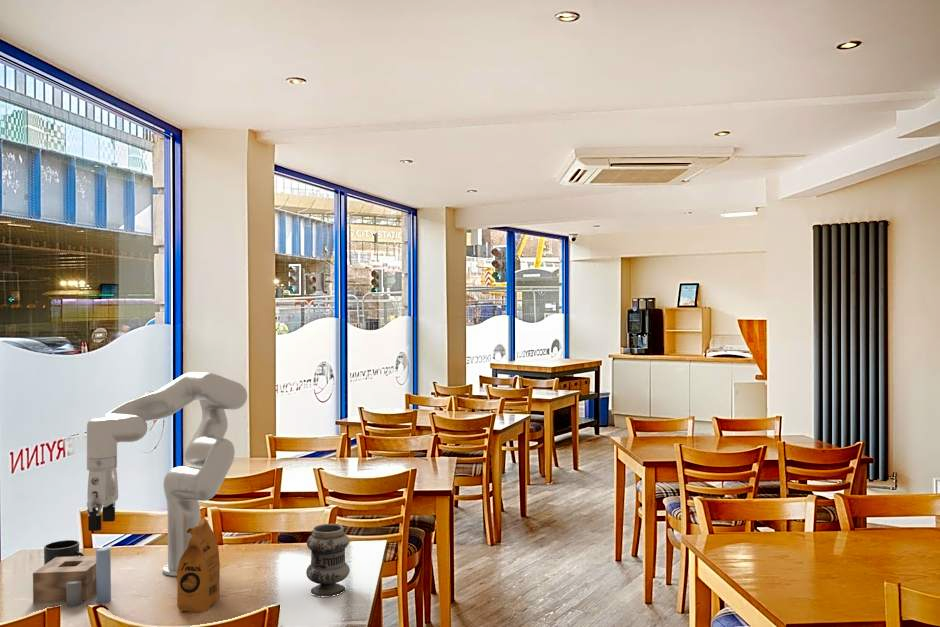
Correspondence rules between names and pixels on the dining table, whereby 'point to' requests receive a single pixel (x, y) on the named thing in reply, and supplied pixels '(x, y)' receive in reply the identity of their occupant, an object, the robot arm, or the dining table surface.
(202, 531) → the coffee package
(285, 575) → the dining table surface
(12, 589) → the dining table surface
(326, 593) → the apothecary jar
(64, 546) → the mug
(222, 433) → the robot arm
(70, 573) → the hole block
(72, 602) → the short pin
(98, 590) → the tall pin
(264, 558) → the dining table surface
